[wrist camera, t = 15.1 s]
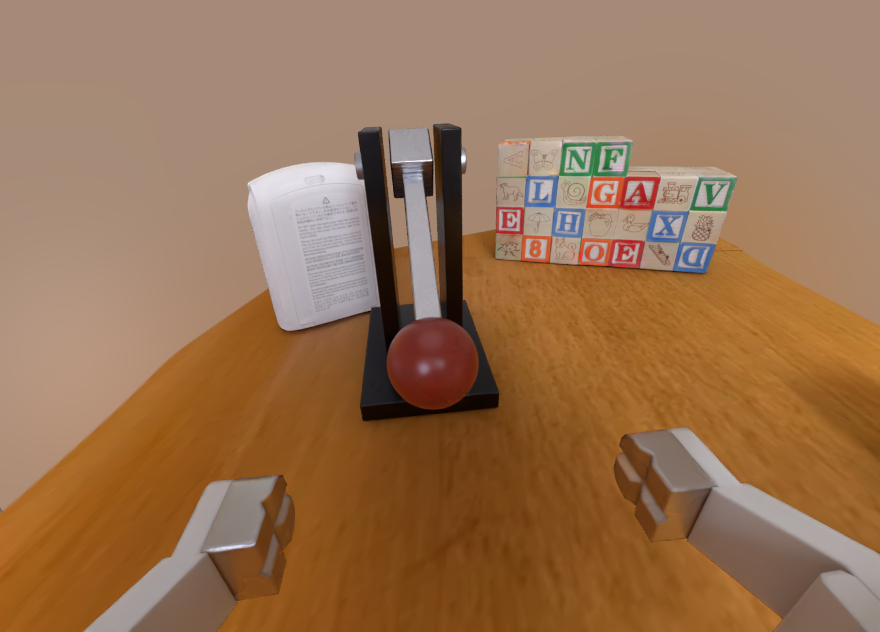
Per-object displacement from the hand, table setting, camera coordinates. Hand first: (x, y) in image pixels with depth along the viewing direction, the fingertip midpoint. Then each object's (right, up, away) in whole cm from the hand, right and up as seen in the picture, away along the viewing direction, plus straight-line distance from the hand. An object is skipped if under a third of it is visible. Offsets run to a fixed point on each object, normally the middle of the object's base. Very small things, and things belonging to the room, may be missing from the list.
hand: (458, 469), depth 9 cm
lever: (-1, +6, +10) cm, 12 cm away
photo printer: (-9, +4, +25) cm, 27 cm away
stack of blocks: (+17, +10, +34) cm, 39 cm away
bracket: (-2, +1, +18) cm, 18 cm away
